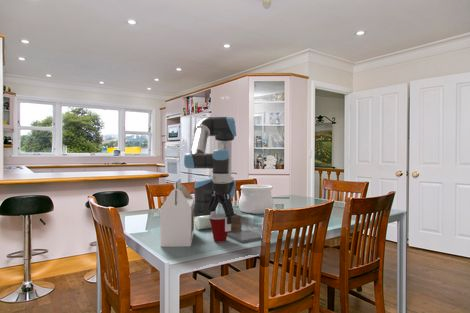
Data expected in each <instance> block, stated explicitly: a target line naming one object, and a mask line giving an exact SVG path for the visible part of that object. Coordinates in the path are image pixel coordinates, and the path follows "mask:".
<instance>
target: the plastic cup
mask: <svg viewBox="0 0 470 313" xmlns="http://www.w3.org/2000/svg"><path fill="white" fill-rule="evenodd" d="M225 216H226V214H225V212H224V213H216V214H214V215H210V216H208V218H209V219H210V223H211V228H210V229H211V232H212V237H213V238H212V239H213V241H214V242H217V243H224V242H226V241H227V233H228V231H227V232H226V231H225Z"/></svg>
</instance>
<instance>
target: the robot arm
mask: <svg viewBox="0 0 470 313" xmlns="http://www.w3.org/2000/svg"><path fill="white" fill-rule="evenodd" d="M209 137H214V139H215V141H217V149H214V150H213V151H212V153H206V149H207V143H208V138H209ZM236 137H237V128H236V120H235V118H234V117H231V116H207V117H204V118H202V119H201V120H199V121H197V123H195V126H194V128H193V139H192V144H191V148H190V152H188V153H185V154H184V158H183V164H184V165H183V166H184V167H185V168H186V169H192V170H194V169H211V170H212V178H203V179H197V180H195V182H194V217H197V216H206V215H214V214H217V208H218V206H219V204H220V205H221V206H222V209H223V211H224V213H225V214H226V216H225V231H226V232H227V231H231V217H232V216H234V213H235V211H234V207H233V203H232V200H231V199H234V197H235V194H236V187H237V186H236V185H237V184H236V183H237V182H236V180H234V177H233V176H232V148H233V147H232V142H233V141H234V140H235V138H236ZM210 225H211V223H210Z"/></svg>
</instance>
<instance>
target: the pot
mask: <svg viewBox="0 0 470 313" xmlns="http://www.w3.org/2000/svg"><path fill="white" fill-rule="evenodd" d="M240 189H241V194H240V197H239V201H238V207H239V210H240V211H241V212H243V213H246V214H251V213H252V214H254V215H256V214H257V215H261V214H265V213H264V211H265V209H266V208H269V209H274V205H275V202H274V198H273V195H272V190H273V186H272V185H269V184H257V183H256V184H254V183H253V184H242V185H240ZM252 214H251V215H252Z"/></svg>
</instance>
